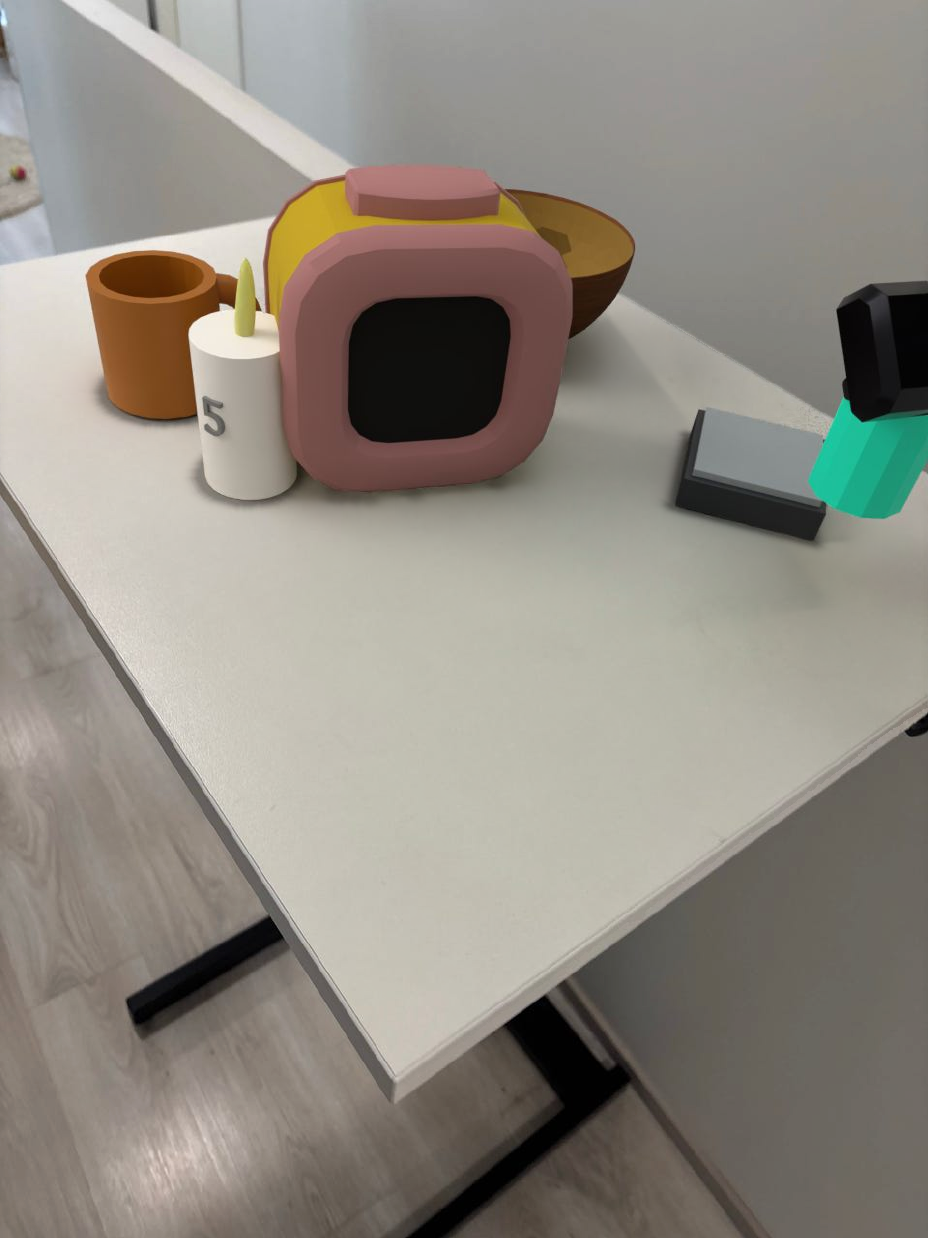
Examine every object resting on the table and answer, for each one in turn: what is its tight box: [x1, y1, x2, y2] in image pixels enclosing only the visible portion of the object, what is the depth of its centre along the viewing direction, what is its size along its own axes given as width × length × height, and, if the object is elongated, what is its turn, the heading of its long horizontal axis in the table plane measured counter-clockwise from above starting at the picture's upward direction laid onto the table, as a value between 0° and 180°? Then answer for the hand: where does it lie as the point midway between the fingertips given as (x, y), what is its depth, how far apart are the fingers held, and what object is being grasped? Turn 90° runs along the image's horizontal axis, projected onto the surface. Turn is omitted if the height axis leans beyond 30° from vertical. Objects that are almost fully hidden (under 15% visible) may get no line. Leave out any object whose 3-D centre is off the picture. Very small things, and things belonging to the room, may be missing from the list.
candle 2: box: [808, 396, 928, 520], centre depth 54 cm, size 6×6×12 cm
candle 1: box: [189, 257, 298, 501], centre depth 58 cm, size 6×6×15 cm
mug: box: [85, 249, 263, 420], centre depth 67 cm, size 9×12×9 cm
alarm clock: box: [262, 164, 573, 494], centre depth 61 cm, size 18×11×19 cm, turn 105°
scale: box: [674, 406, 827, 542], centre depth 68 cm, size 10×10×3 cm
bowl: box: [503, 188, 636, 341], centre depth 78 cm, size 18×18×10 cm
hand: (886, 386), depth 54 cm, fingers closed on candle 2, 6 cm apart
